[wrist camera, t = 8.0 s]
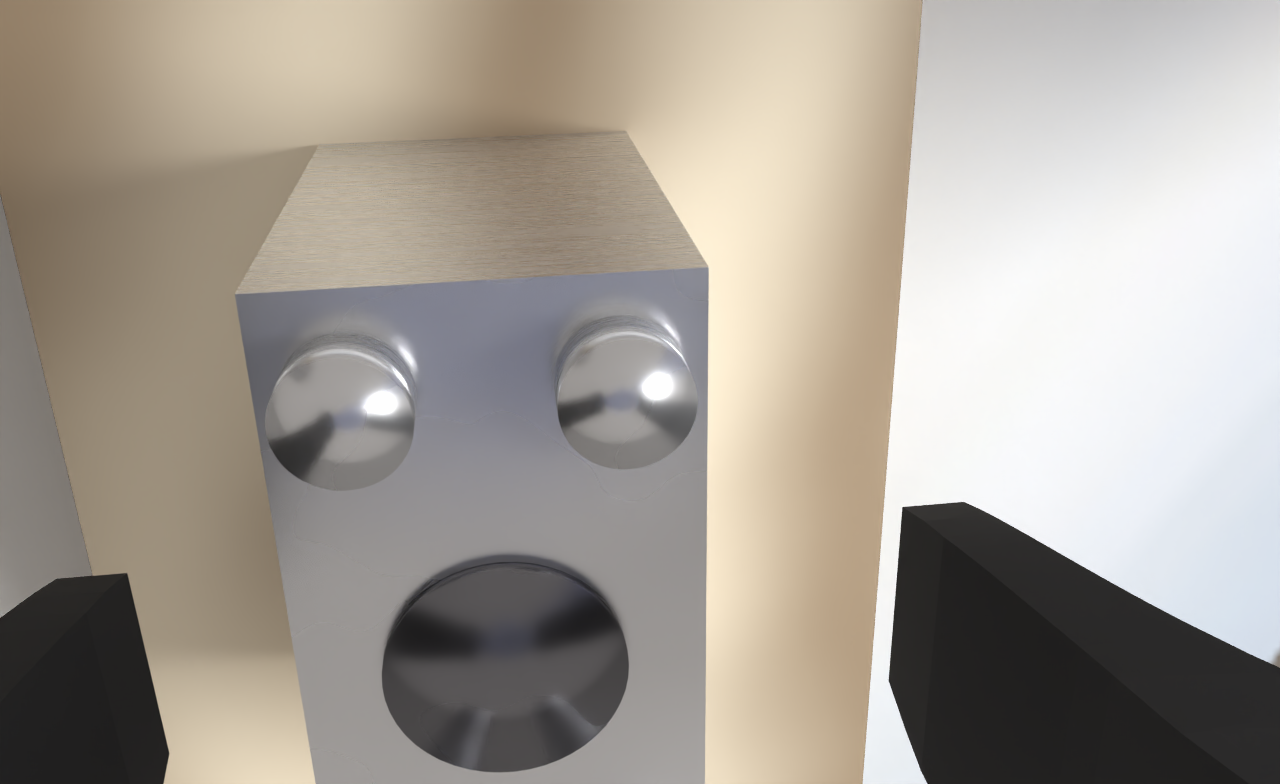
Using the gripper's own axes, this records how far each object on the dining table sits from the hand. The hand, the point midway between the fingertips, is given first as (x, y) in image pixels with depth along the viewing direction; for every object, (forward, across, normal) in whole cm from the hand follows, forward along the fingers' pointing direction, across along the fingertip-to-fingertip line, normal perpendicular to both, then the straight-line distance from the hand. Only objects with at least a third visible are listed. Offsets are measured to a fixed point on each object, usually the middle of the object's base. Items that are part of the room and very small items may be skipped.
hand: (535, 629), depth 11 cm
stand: (+9, 0, +1) cm, 9 cm away
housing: (+6, 0, +1) cm, 6 cm away
